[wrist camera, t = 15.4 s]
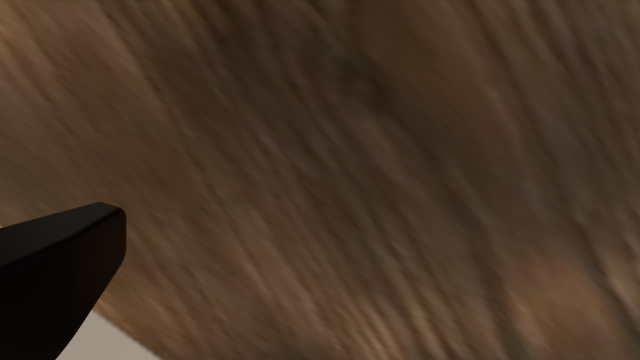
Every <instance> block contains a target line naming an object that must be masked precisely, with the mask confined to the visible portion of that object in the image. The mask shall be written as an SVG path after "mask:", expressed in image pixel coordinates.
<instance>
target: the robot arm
mask: <svg viewBox="0 0 640 360" xmlns="http://www.w3.org/2000/svg"><path fill="white" fill-rule="evenodd" d="M125 254H126V213H125V211H124V210H123V209H122V208H120V207H116V206H113V205H110V204H107V203H103V202H97V203H93V204H90V205H86V206H82V207H78V208H75V209H71V210H67V211H63V212H59V213H56V214H52V215H48V216H44V217H41V218H37V219H33V220H29V221H26V222H22V223H18V224H14V225H11V226H7V227H3V228H0V360H55V359H57V357H58V356H59V355H60V354H61V352H62V351H63V350H64V348H65V347H66V346H67V345H68V343H69V342H70V341H71V339H72V338H73V337H74V335H75V334H76V332H77V331H78V329H79V328H80V326H81V325H82V323H83V322H84V320H85V319H86V317H87V316H88V314H89V313H90V311H91V310H92V308H93V307H94V305H95V304H96V302H97V301H98V299H99V298H100V296H101V295H102V293H103V292H104V290H105V289H106V287H107V285H108V284H109V282H110V281H111V279H112V278H113V276H114V275H115V273H116V272H117V270H118V269H119V267H120V266H121V264H122V262H123V260H124V257H125Z"/></svg>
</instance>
